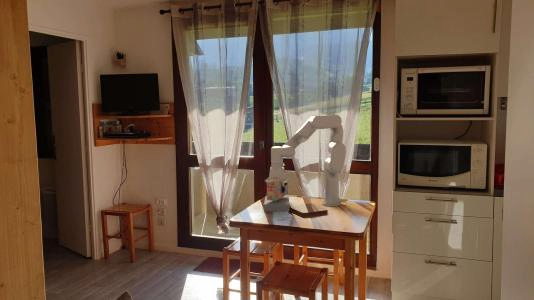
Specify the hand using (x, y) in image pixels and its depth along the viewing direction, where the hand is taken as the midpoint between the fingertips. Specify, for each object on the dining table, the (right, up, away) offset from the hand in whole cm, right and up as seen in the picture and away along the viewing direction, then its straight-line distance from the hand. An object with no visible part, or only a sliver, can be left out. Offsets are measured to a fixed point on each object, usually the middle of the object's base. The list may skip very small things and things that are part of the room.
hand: (277, 192), depth 280 cm
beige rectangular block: (0, -3, +1) cm, 4 cm away
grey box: (0, -10, +1) cm, 10 cm away
